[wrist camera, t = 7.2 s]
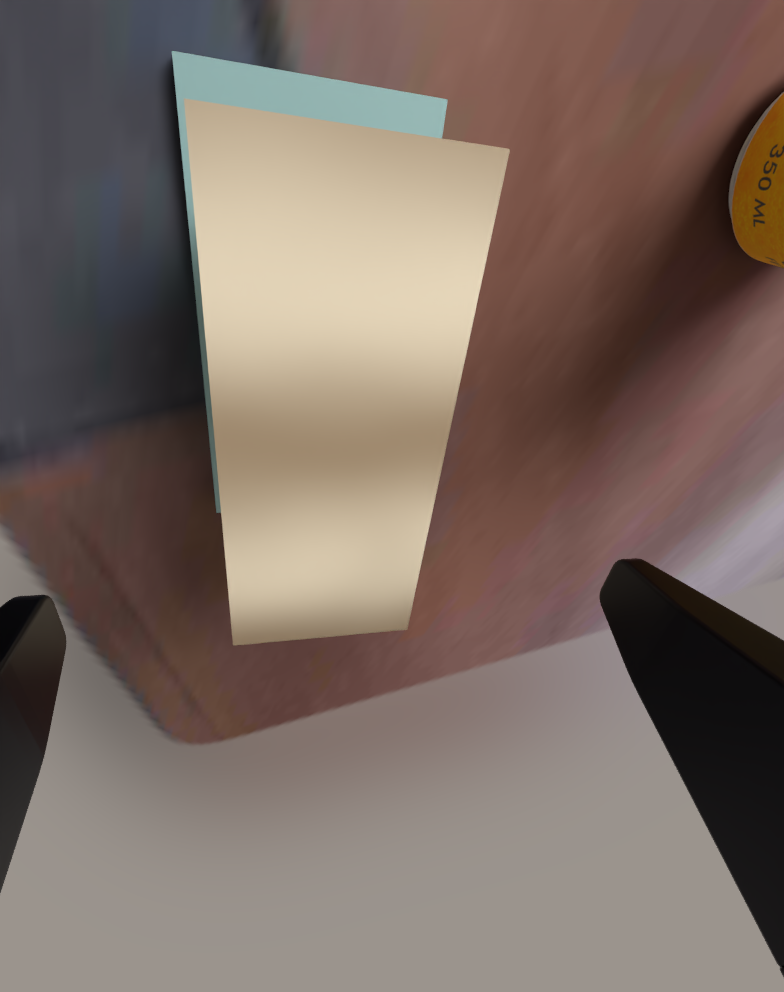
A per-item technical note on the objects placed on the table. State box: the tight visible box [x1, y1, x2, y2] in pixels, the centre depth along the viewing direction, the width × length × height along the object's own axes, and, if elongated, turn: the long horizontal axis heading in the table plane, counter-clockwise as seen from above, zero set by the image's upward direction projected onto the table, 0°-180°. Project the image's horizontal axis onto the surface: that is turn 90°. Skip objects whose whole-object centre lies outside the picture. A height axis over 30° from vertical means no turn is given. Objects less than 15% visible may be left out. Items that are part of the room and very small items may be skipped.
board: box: [184, 98, 510, 646], centre depth 12 cm, size 12×5×3 cm, turn 172°
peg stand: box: [172, 51, 447, 513], centre depth 15 cm, size 14×7×5 cm, turn 172°
